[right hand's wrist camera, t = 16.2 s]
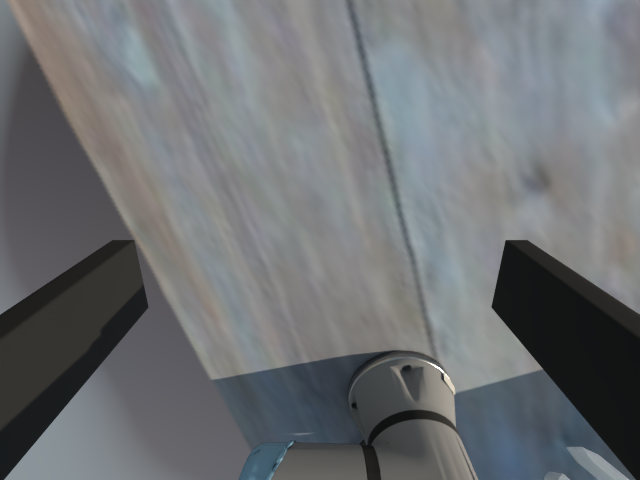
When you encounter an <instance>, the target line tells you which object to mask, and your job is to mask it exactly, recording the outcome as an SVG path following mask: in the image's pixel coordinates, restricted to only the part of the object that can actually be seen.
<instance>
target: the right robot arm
mask: <svg viewBox="0 0 640 480" xmlns="http://www.w3.org/2000/svg"><path fill="white" fill-rule="evenodd" d="M147 308H148V303H147V298H146V293H145V289H144V284H143V279H142V274H141V270H140V265H139V260H138V256H137V251H136V246H135V241H134V240H112V241H111V242H109V243H108V244H106V245H105V246H103V247H102V248H100V249H99V250H97V251H96V252H94V253H93V254H91V255H90V256H88V257H87V258H85V259H84V260H82V261H81V262H79V263H78V264H76V265H75V266H73V267H72V268H70V269H69V270H67V271H66V272H64V273H62V274H61V275H59V276H58V277H56V278H55V279H53V280H52V281H50V282H49V283H47V284H46V285H44V286H43V287H41V288H40V289H38V290H37V291H35V292H34V293H32V294H31V295H29V296H28V297H26V298H25V299H23V300H22V301H20V302H19V303H17V304H16V305H14V306H13V307H11V308H10V309H8V310H7V311H5V312H4V313H2V314H1V315H0V480H4V479H5V478H6V477H7V475H8V474H9V473H10V472H11V471H12V469H13V468H14V467H15V466H16V465H17V463H18V462H19V461H20V460H21V459H22V457H23V456H24V455H25V454H26V453H27V452H28V450H29V449H30V448H31V447H32V446H33V444H34V443H35V442H36V441H37V440H38V438H39V437H40V436H41V435H42V434H43V432H44V431H45V430H46V429H47V428H48V426H49V425H50V424H51V423H52V422H53V420H54V419H55V418H56V417H57V416H58V415H59V413H60V412H61V411H62V410H63V409H64V407H65V406H66V405H67V404H68V403H69V401H70V400H71V399H72V398H73V397H74V395H75V394H76V393H77V392H78V391H79V390H80V388H81V387H82V386H83V385H84V383H85V382H86V381H87V380H88V379H89V378H90V376H91V375H92V374H93V373H94V372H95V370H96V369H97V368H98V367H99V366H100V364H101V363H102V362H103V361H104V360H105V358H106V357H107V356H108V355H109V354H110V353H111V351H112V350H113V349H114V348H115V347H116V345H117V344H118V343H119V342H120V340H121V339H122V338H123V337H124V336H125V335H126V333H127V332H128V331H129V330H130V329H131V327H132V326H133V325H134V324H135V323H136V321H137V320H138V319H139V318H140V317H141V315H142V314H143V313H144V312H145V311H146V310H147ZM492 308H493V310H494V311H495V312H496V313H497V314H498V316H499V317H500V318H501V319H502V320H503V321H504V323H505V324H506V325H507V326H508V327H509V329H510V330H511V331H512V332H513V333H514V335H515V336H516V337H517V338H518V339H519V341H520V342H521V343H522V344H523V345H524V347H525V348H526V349H527V350H528V351H529V353H530V354H531V355H532V356H533V357H534V358H535V360H536V361H537V362H538V363H539V364H540V366H541V367H542V368H543V369H544V370H545V372H546V373H547V374H548V375H549V376H550V378H551V379H552V380H553V381H554V382H555V384H556V385H557V386H558V387H559V388H560V390H561V391H562V392H563V393H564V394H565V395H566V397H567V398H568V399H569V400H570V401H571V403H572V404H573V405H574V406H575V407H576V409H577V410H578V411H579V412H580V413H581V415H582V416H583V417H584V418H585V419H586V421H587V422H588V423H589V424H590V425H591V427H592V428H593V429H594V430H595V431H596V432H597V434H598V435H599V436H600V437H601V438H602V440H603V441H604V442H605V443H606V444H607V446H608V447H609V448H610V449H611V450H612V452H613V453H614V454H615V455H616V456H617V458H618V459H619V460H620V461H621V462H622V463H623V465H624V466H625V467H626V468H627V469H628V471H629V472H630V473H631V474H632V475H633V477H634V478H635V479H636V480H640V314H638V313H636V312H635V311H633V310H632V309H630V308H629V307H627V306H626V305H624V304H623V303H621V302H620V301H618V300H617V299H615V298H614V297H612V296H611V295H609V294H608V293H606V292H605V291H603V290H602V289H600V288H599V287H597V286H596V285H594V284H593V283H591V282H590V281H588V280H587V279H585V278H584V277H582V276H581V275H579V274H578V273H576V272H574V271H573V270H571V269H570V268H568V267H567V266H565V265H564V264H562V263H561V262H559V261H558V260H556V259H555V258H553V257H552V256H550V255H549V254H547V253H546V252H544V251H543V250H541V249H540V248H538V247H537V246H535V245H534V244H532V243H531V242H529V241H528V240H506V241H505V246H504V251H503V256H502V260H501V265H500V270H499V274H498V279H497V284H496V289H495V293H494V298H493V303H492ZM454 394H455V387H454V386H453V384H452V383H451V381H450V379H449V377H448V375H447V373H446V371H445V369H444V368H443V367H442V366H441V365H440V364H439V363H438V362H437V361H436V360H434V359H433V358H431V357H429V356H427V355H424V354H421V353H417V352H411V351H395V352H389V353H385V354H382V355H379V356H377V357H375V358H372V359H371V360H369V361H367V362H366V363H365V364H363V365H362V366H361V367H360V368H359V369H358V370H357V371H356V373H355V374H354V375H353V377H352V379H351V381H350V384H349V388H348V401H349V408H350V412H351V414H352V417H353V419H354V421H355V423H356V425H357V427H358V429H359V431H360V433H361V435H362V437H363V439H364V440H363V441H362V442H361V443H360V444H329V443H300V442H296V441H294V440H291V441H289V442H277V443H263V444H261V445H259V446H257V447H256V448H255V449H254V450H253V451H252V452H251V454H250V455H249V457H248V459H247V461H246V463H245V465H244V467H243V469H242V472H241V475H240V478H239V480H478V478H477V476H476V473H475V471H474V469H473V466H472V464H471V462H470V459H469V457H468V455H467V452H466V450H465V448H464V445H463V443H462V441H461V439H460V436H459V434H458V431H457V429H456V420H455V402H454ZM366 444H367V445H366Z"/></svg>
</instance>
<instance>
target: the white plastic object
mask: <svg viewBox="0 0 640 480" xmlns="http://www.w3.org/2000/svg"><path fill="white" fill-rule="evenodd" d="M566 448H567V449H568V451H569V452H570V453H571V455H572V456H573V458H574V459H575V460H576V462H578V463H579V464H580V465H581V466H582V467H583V468H585V469H586V470H587V471H588V472H589V473H591V474H592V475H593V476H594V477H595V478H596V479H598V480H629V479H628V478H627V477H625V476H624V475H623V474H622V473H620V472H619V471H618V470H617V469H615V468H614V467H613V466H612V465H611V464H609V463H608V462H607V461H606V460H604V459H603V458H602V457H601V456H599V455H598V454H596V453H594V452H592V451H589V450H587V449H585V448H583V447H566ZM544 479H545V480H570V479H569V478H568V477H566V476H565V475H564V474H563V473H556V472H548V473H547V475H546V476H545V477H544Z"/></svg>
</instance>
